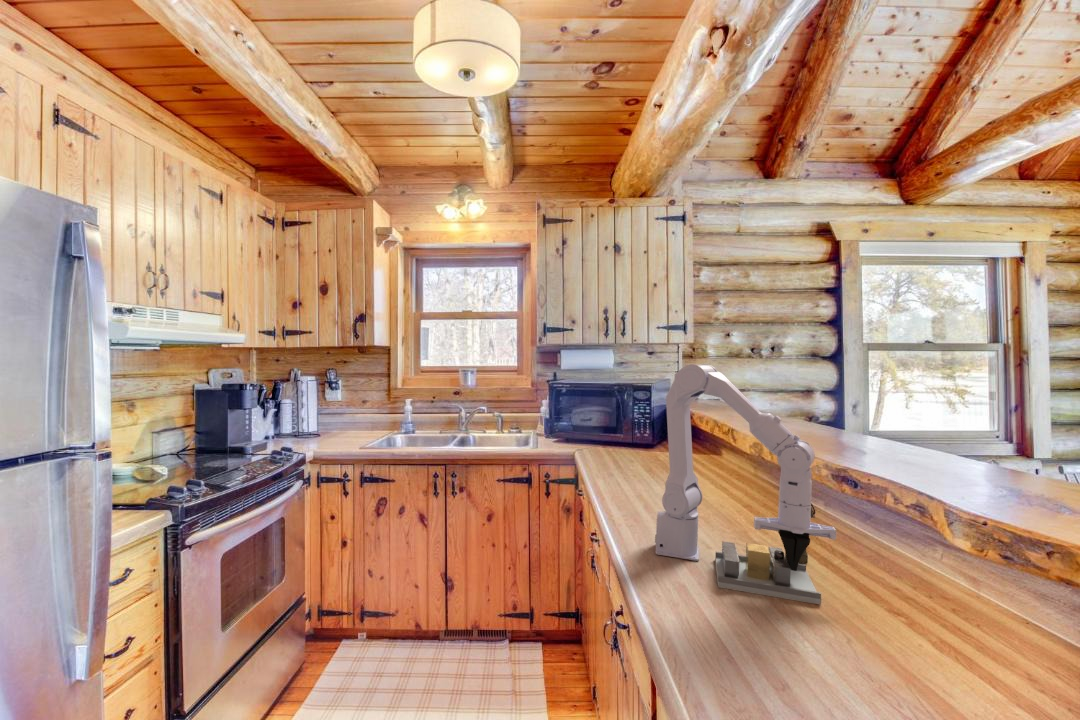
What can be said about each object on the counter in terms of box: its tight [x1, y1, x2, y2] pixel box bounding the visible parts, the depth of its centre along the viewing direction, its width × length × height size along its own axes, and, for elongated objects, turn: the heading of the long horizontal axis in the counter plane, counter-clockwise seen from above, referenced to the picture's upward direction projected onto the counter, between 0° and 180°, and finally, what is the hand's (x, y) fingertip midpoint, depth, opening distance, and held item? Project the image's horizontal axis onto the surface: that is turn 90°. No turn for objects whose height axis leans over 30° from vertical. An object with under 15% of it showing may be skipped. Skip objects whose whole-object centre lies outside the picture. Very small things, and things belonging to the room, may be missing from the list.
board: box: [714, 551, 822, 606], centre depth 97 cm, size 18×13×2 cm
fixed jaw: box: [721, 541, 739, 579], centre depth 99 cm, size 3×10×4 cm, turn 162°
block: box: [745, 542, 770, 581], centre depth 97 cm, size 4×4×6 cm
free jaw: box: [768, 546, 791, 587], centre depth 96 cm, size 3×10×5 cm, turn 162°
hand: (792, 568), depth 95 cm, fingers closed
